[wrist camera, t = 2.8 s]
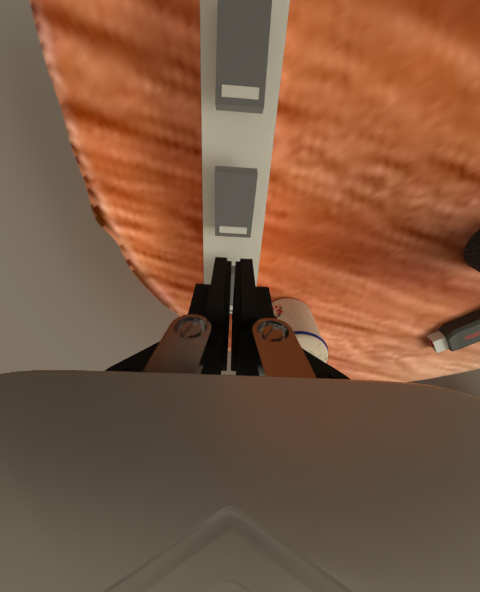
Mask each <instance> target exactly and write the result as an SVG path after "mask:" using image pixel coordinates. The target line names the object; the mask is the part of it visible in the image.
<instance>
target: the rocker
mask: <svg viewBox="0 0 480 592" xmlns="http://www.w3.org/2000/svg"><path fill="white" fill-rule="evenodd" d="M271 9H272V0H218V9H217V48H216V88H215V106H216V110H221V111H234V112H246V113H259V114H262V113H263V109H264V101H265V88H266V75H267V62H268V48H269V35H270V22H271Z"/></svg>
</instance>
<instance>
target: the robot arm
mask: <svg viewBox="0 0 480 592" xmlns="http://www.w3.org/2000/svg"><path fill="white" fill-rule="evenodd" d="M231 266H232V261H227V258H225V257H215V261H214V267H213V273H212V279H211V284H196V286H195V290H194V294H193V297H192V301H191V305H190V309H189V313H188V315H183V316H180V317H178V318H176V319H175V320H173V321H172V323H171V324H170V325H169V327H168V329H167V331H166V332H165V334H164V336H163V337H162V339H161V341H160V342H158V343H156V344H154V345H152V346H150V347H148V348H146V349H144V350H143V351H141V352H139V353H137V354H135V355H133V356H131V357H129V358H127V359H125V360H123V361H121V362H119V363H117V364H115V365H113V366H111V367H110V368H108V369H107V370H105V371H85V370H33V371H18V372H10V373H3V374H0V592H480V398H477V397H474V396H470V395H468V394H464V393H462V392H459V391H455V390H450V389H446V388H441V387H436V386H431V385H424V384H417V383H404V382H390V381H373V380H351V379H349V378H348V377H347V376H346V375H344V374H342V373H341V372H339V371H338V370H336V369H334V368H333V367H331V366H330V365H328V364H326V363H325V362H323V361H322V360H320V359H319V358H317V357H315V356H314V355H312V354H311V353H309V352H307V351H306V350H304V349H303V348H301V346H300V344H299V342H298V340H297V338H296V336H295V334H294V332H293V330H292V328H291V327H290V325H288V324H287V323H286V322H284V321H282V320H279V319H275V317H274V312H273V307H272V302H271V297H270V292H269V288H268V287H256V286H255V277H254V269H253V260H252V259H243V258H240V261H236V262H235V278H234V295H233V311H232V349H231V371H236V375H221V371H226V370H227V353H228V334H229V315H230V292H231Z"/></svg>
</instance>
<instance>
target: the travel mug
mask: <svg viewBox="0 0 480 592" xmlns="http://www.w3.org/2000/svg"><path fill="white" fill-rule="evenodd" d="M464 258H465V261H466V262H467V263H468V264H469V265H470V266H471V267H473V268H474V269H476V270H477V271H479V272H480V230H479V231H478V232H477V233H476V234H475V235H474V236H473V237H472V238H471V239H470V241H469V242H468V244H467V246H466V248H465V252H464Z"/></svg>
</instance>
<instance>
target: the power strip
mask: <svg viewBox="0 0 480 592" xmlns="http://www.w3.org/2000/svg"><path fill="white" fill-rule="evenodd" d="M289 3H290V0H272V9H271V22H270V35H269V48H268V62H267V75H266V88H265V101H264V109H263V113H262V114H259V113H246V112H234V111H221V110H216V106H215V88H216V48H217V9H218V0H200V48H201V50H200V67H201V118H202V203H203V260H204V266H203V273H204V284H211V279H212V273H213V267H214V261H215V257H225V258H227V261H232V266H235V262H236V261H240V258H243V259H252V260H253V269H254V277H255V286H257V277H258V269H259V260H260V252H261V243H262V234H263V226H264V217H265V209H266V200H267V192H268V183H269V174H270V166H271V157H272V149H273V140H274V132H275V123H276V114H277V106H278V97H279V89H280V80H281V72H282V63H283V54H284V46H285V37H286V29H287V20H288V12H289ZM215 166H229V167H243V168H257V172H258V177H257V185H256V194H255V203H254V212H253V220H252V229H251V238H245V237H228V236H215V176H214V172H215ZM230 314H232V312H230Z"/></svg>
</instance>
